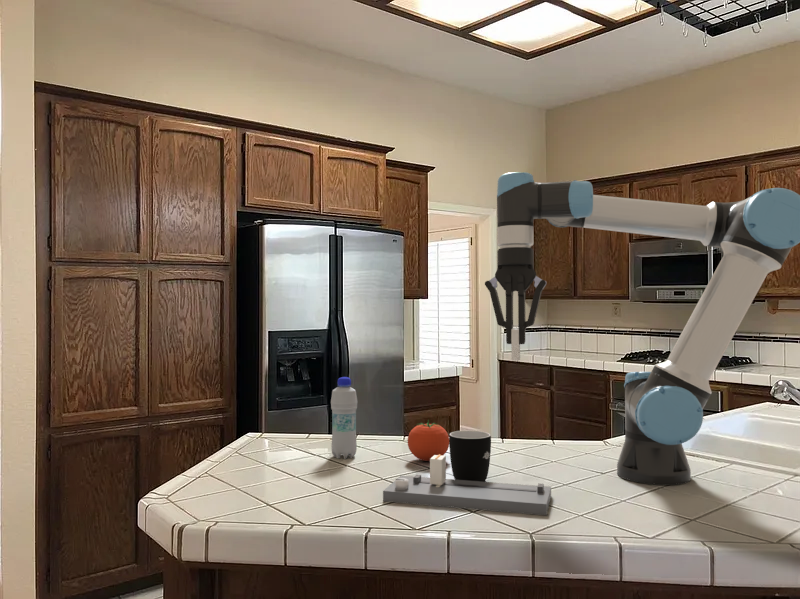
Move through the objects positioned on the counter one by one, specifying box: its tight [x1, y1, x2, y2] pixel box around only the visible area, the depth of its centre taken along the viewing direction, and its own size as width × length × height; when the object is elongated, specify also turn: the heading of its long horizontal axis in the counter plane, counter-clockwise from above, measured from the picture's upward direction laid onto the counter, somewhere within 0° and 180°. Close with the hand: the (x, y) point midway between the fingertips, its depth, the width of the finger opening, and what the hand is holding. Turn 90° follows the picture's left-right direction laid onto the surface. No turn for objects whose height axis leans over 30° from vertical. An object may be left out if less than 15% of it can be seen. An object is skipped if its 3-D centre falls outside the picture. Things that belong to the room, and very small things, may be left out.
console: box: [382, 474, 552, 516], centre depth 130 cm, size 31×12×4 cm, turn 73°
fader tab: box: [429, 454, 447, 485], centre depth 134 cm, size 2×4×5 cm, turn 163°
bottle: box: [330, 376, 358, 460], centre depth 166 cm, size 7×7×20 cm
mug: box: [448, 429, 492, 482], centre depth 144 cm, size 12×9×10 cm
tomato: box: [407, 419, 450, 462], centre depth 162 cm, size 10×10×10 cm
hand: (515, 359), depth 139 cm, fingers closed
